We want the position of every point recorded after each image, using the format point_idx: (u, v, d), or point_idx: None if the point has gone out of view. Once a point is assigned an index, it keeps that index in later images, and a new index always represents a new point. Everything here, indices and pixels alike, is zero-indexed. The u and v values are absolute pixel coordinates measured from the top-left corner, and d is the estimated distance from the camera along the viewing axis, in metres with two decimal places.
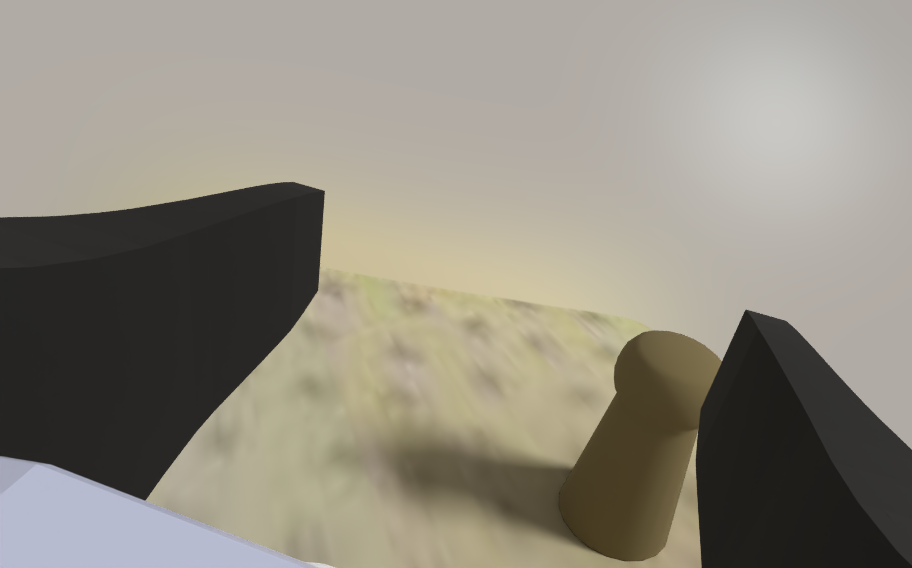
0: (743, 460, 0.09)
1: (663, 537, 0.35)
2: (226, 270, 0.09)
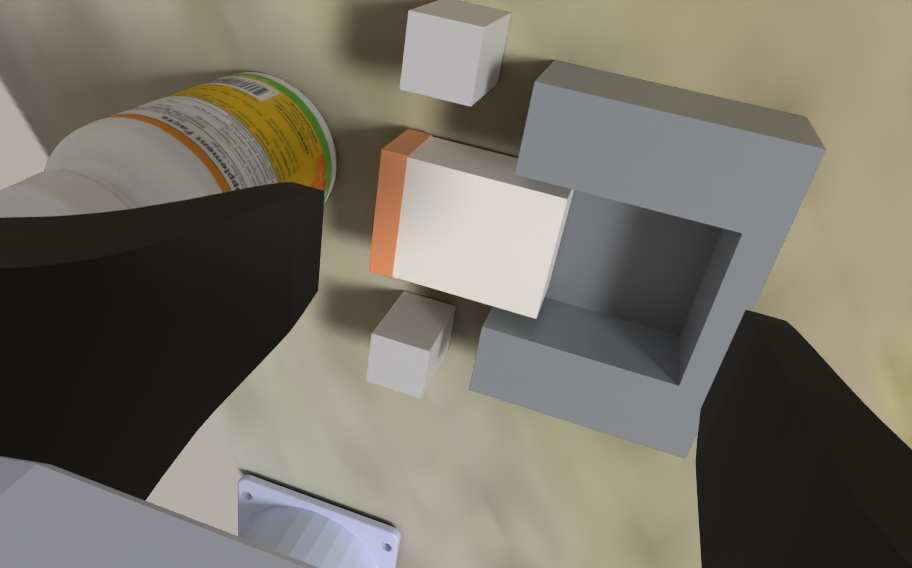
0: (743, 460, 0.09)
1: None
2: (226, 270, 0.09)
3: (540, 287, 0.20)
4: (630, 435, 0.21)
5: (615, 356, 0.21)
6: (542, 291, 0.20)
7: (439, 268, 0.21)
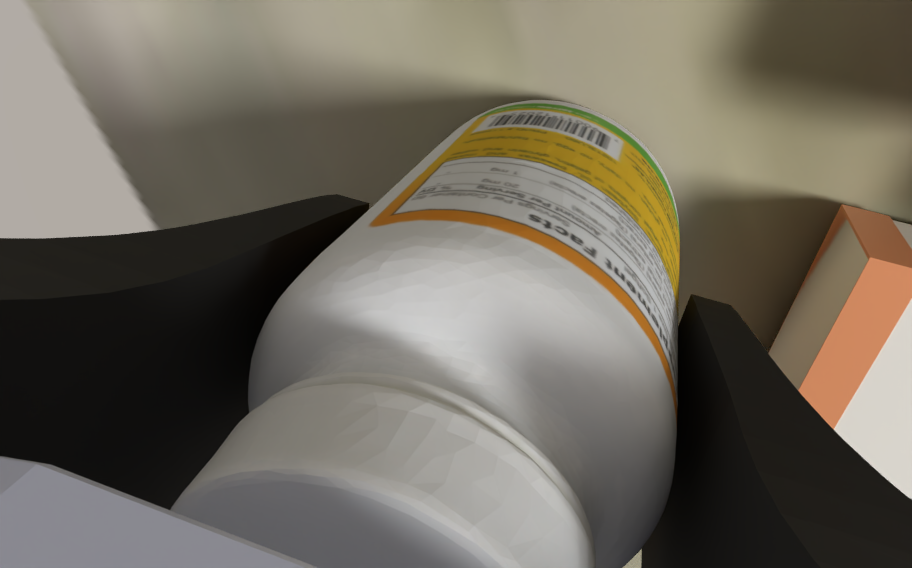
0: (678, 440, 0.09)
1: None
2: (279, 287, 0.09)
3: None
4: None
5: None
6: None
7: None
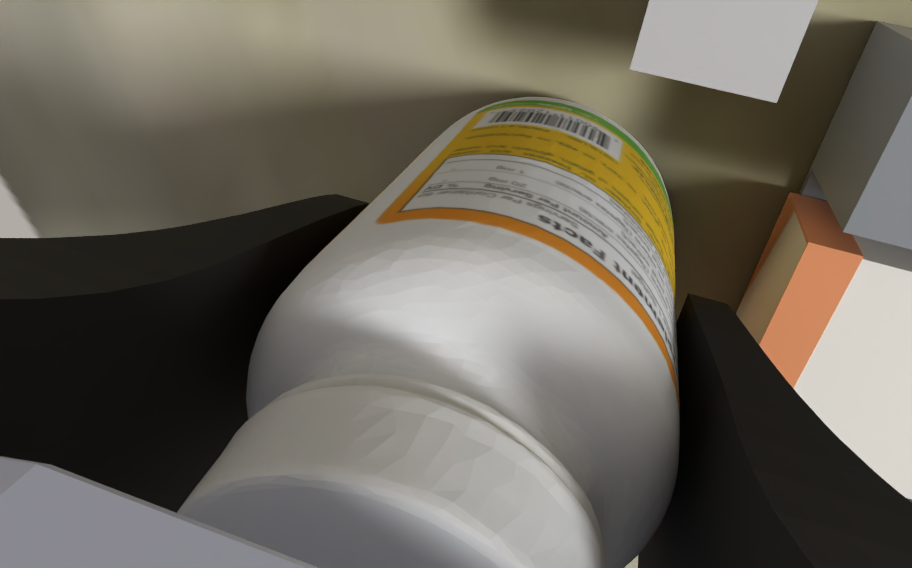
0: None
1: None
2: (279, 286, 0.09)
3: None
4: None
5: None
6: None
7: (864, 446, 0.12)
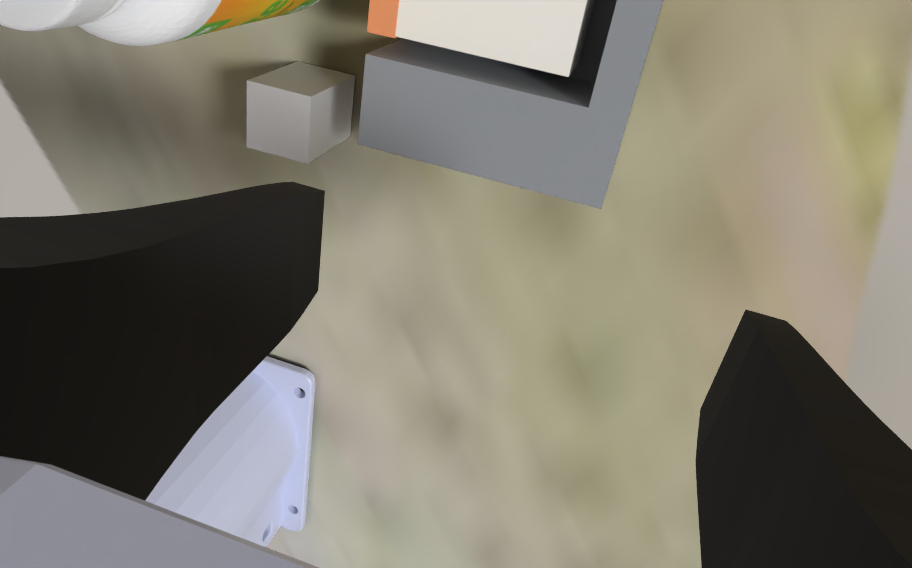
0: (743, 460, 0.09)
1: None
2: (226, 270, 0.09)
3: (574, 31, 0.17)
4: (538, 184, 0.18)
5: (518, 85, 0.18)
6: (577, 37, 0.17)
7: (452, 18, 0.17)
